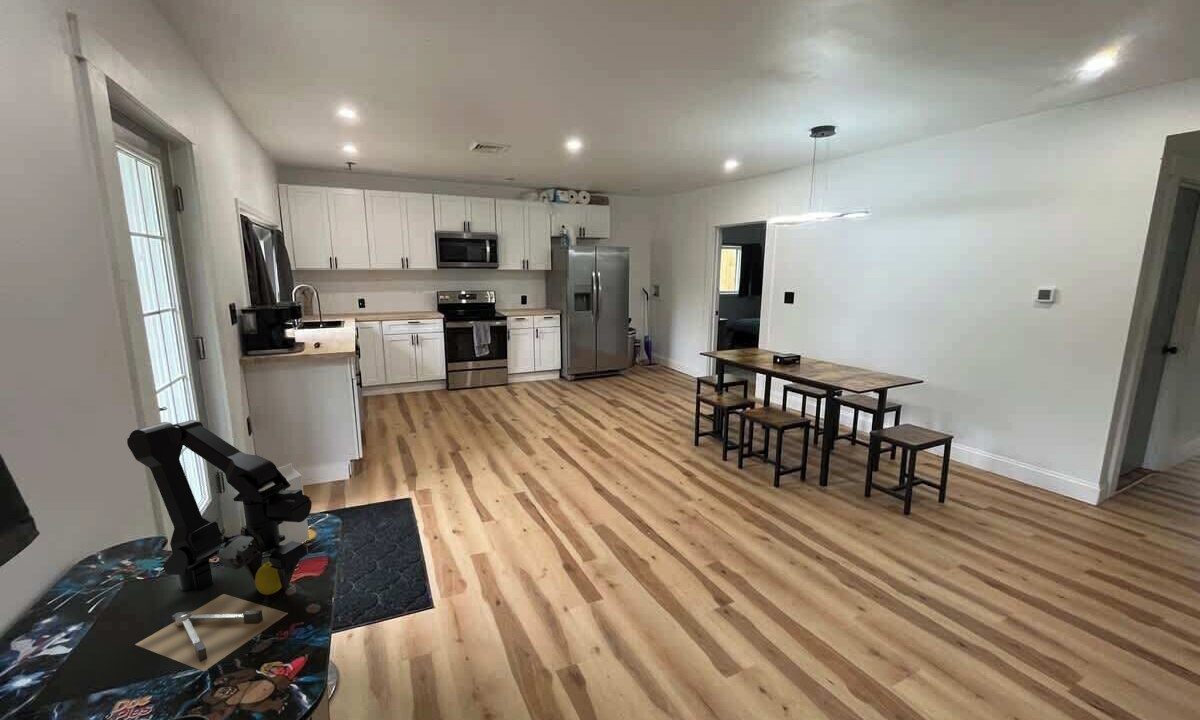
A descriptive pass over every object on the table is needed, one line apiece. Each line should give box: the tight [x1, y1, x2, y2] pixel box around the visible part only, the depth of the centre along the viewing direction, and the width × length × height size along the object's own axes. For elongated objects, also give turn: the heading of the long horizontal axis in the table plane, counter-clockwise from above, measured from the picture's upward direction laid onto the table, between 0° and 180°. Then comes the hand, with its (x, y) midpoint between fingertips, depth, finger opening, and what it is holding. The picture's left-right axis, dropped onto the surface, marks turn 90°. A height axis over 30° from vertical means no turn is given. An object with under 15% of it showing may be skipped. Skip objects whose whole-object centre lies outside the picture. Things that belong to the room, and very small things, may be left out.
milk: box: [264, 462, 310, 546], centre depth 128 cm, size 6×6×22 cm
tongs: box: [171, 610, 263, 662], centre depth 96 cm, size 17×12×2 cm
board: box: [134, 593, 289, 672], centre depth 96 cm, size 20×16×1 cm
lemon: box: [254, 561, 282, 596], centre depth 108 cm, size 6×6×8 cm
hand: (270, 583), depth 108 cm, fingers open, 9 cm apart
